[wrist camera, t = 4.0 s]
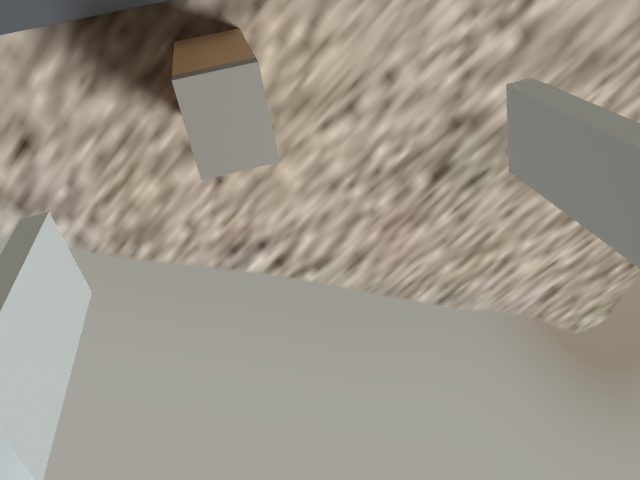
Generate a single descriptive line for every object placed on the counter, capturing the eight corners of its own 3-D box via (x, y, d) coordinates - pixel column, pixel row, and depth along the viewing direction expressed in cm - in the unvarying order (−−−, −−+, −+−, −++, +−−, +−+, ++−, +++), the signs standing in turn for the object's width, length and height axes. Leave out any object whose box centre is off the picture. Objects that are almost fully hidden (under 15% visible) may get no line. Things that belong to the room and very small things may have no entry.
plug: (197, 120, 36) (201, 180, 28) (174, 41, 33) (171, 80, 25) (257, 106, 36) (279, 161, 28) (239, 27, 34) (258, 61, 25)
